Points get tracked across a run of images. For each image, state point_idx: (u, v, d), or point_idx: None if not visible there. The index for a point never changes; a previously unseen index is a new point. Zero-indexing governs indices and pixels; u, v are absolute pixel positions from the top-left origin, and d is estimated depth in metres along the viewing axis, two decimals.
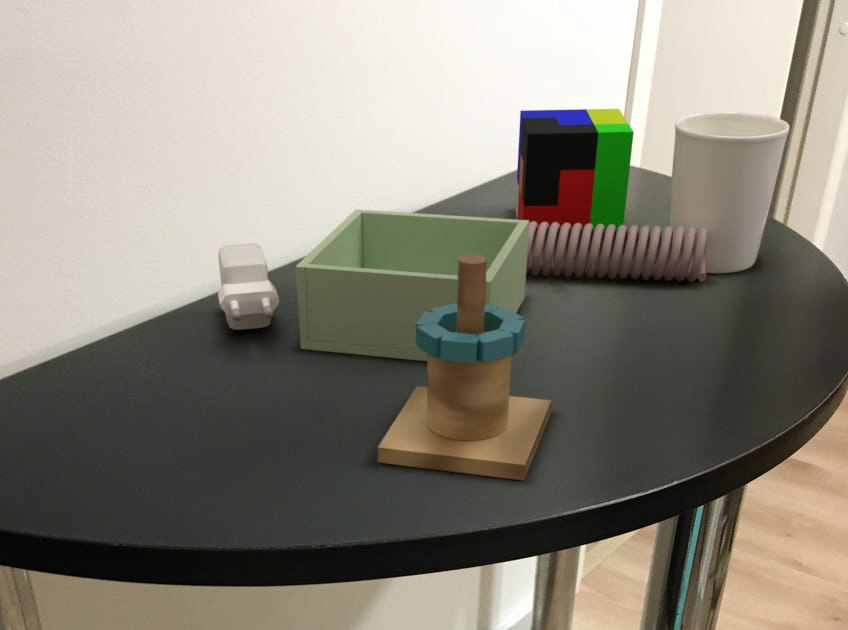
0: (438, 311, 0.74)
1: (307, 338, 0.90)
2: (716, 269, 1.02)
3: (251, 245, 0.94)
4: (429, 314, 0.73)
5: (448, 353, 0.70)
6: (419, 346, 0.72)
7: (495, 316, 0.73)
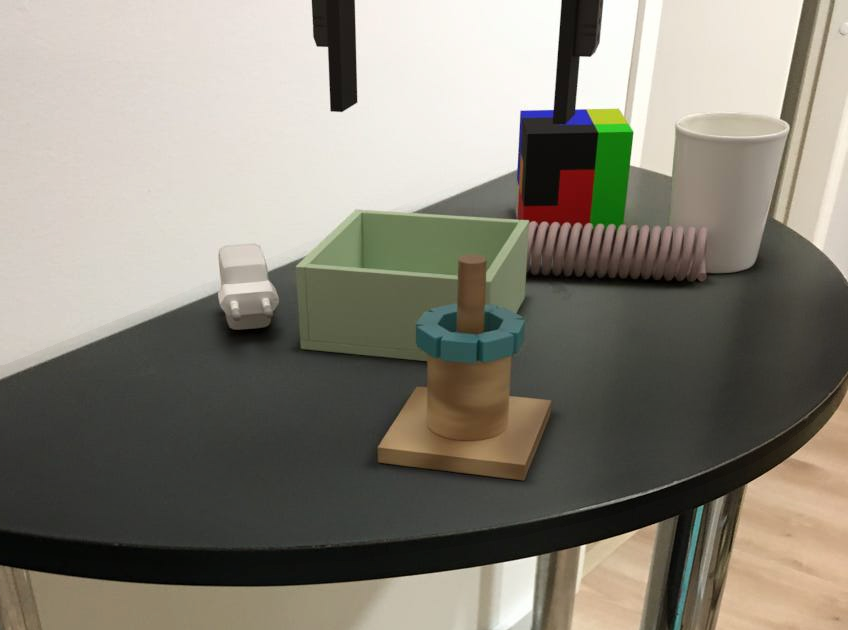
0: (438, 311, 0.74)
1: (307, 338, 0.90)
2: (716, 269, 1.02)
3: (251, 245, 0.94)
4: (429, 314, 0.73)
5: (448, 353, 0.70)
6: (419, 346, 0.72)
7: (495, 316, 0.73)
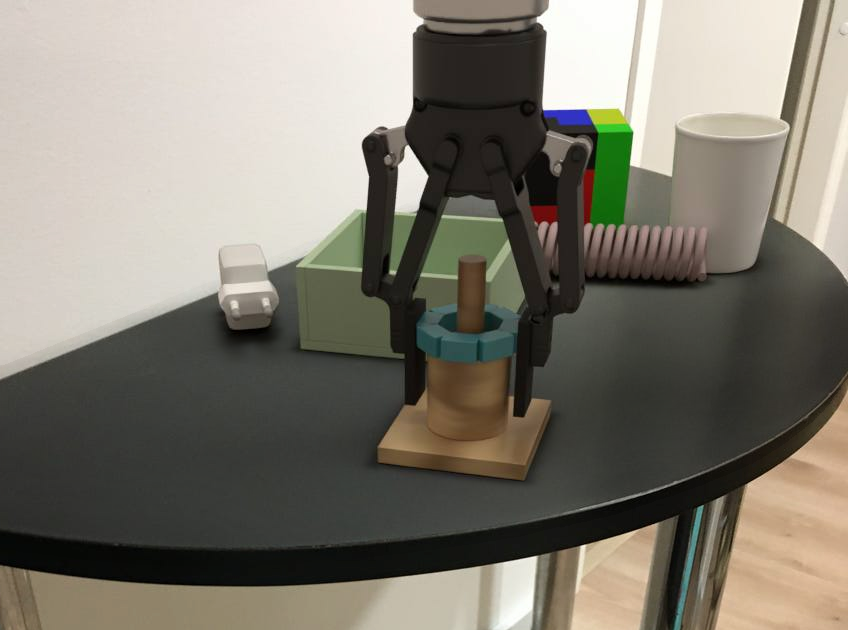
0: (438, 311, 0.74)
1: (307, 338, 0.90)
2: (716, 269, 1.02)
3: (251, 245, 0.94)
4: (429, 314, 0.73)
5: (448, 353, 0.70)
6: (419, 346, 0.72)
7: (495, 316, 0.73)
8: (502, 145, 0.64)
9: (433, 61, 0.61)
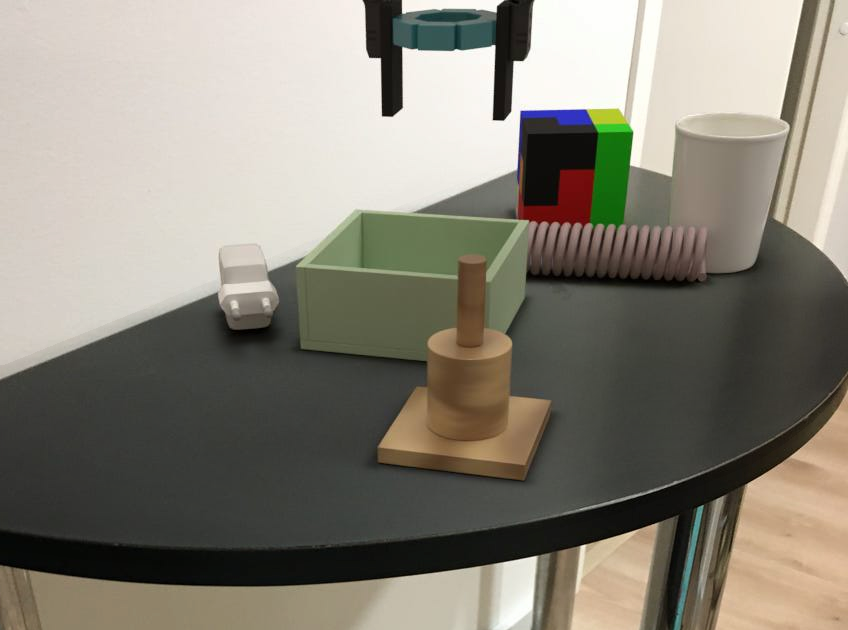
0: (414, 13, 0.72)
1: (307, 338, 0.90)
2: (716, 269, 1.02)
3: (251, 245, 0.94)
4: (405, 14, 0.71)
5: (425, 41, 0.68)
6: (396, 42, 0.70)
7: (473, 14, 0.71)
8: None
9: None
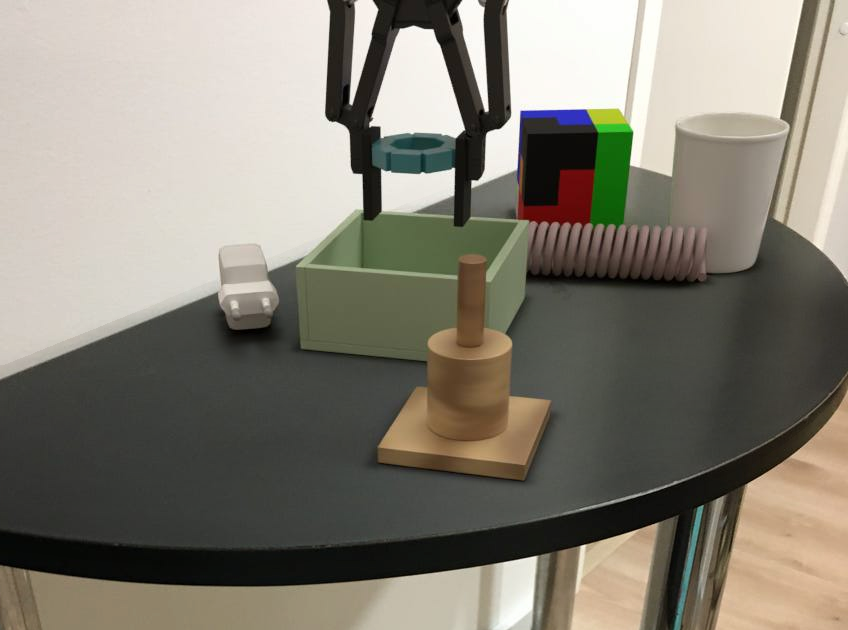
0: (390, 138, 0.87)
1: (307, 338, 0.90)
2: (716, 269, 1.02)
3: (251, 245, 0.94)
4: (383, 139, 0.87)
5: (397, 165, 0.84)
6: (374, 164, 0.86)
7: (438, 140, 0.87)
8: None
9: None
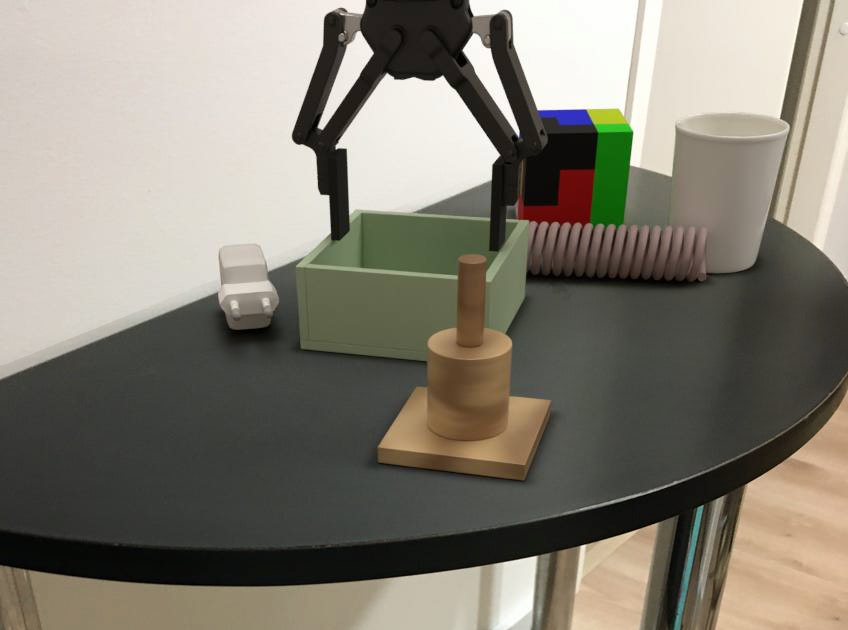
0: None
1: (307, 338, 0.90)
2: (716, 269, 1.02)
3: (251, 245, 0.94)
4: None
5: None
6: None
7: None
8: (435, 31, 0.80)
9: None
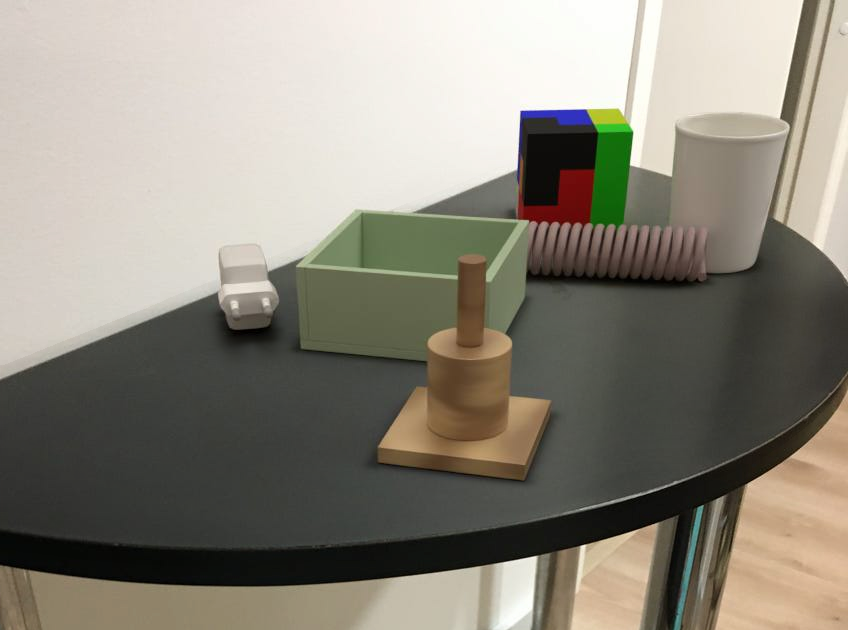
0: None
1: (307, 338, 0.90)
2: (716, 269, 1.02)
3: (251, 245, 0.94)
4: None
5: None
6: None
7: None
8: None
9: None
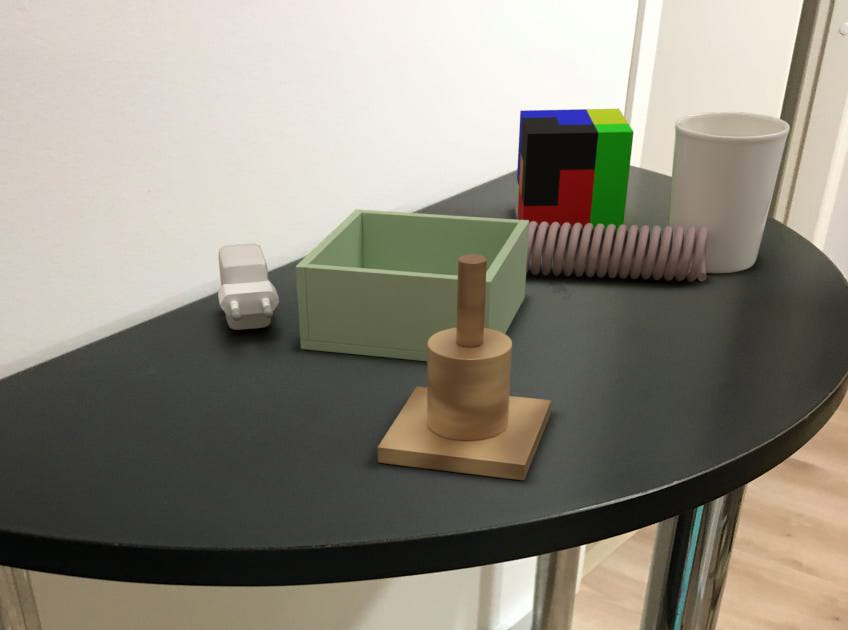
0: None
1: (307, 338, 0.90)
2: (716, 269, 1.02)
3: (251, 245, 0.94)
4: None
5: None
6: None
7: None
8: None
9: None
